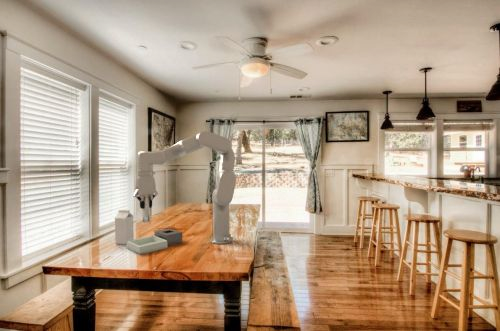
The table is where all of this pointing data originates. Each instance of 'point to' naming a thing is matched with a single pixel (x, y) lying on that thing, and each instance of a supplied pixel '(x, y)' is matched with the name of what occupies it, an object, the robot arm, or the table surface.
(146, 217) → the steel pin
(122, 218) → the milk carton
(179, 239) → the hitch block
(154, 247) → the tray
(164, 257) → the table surface
